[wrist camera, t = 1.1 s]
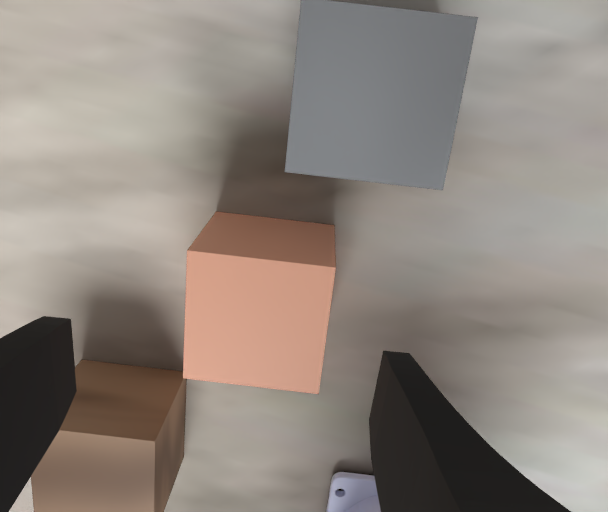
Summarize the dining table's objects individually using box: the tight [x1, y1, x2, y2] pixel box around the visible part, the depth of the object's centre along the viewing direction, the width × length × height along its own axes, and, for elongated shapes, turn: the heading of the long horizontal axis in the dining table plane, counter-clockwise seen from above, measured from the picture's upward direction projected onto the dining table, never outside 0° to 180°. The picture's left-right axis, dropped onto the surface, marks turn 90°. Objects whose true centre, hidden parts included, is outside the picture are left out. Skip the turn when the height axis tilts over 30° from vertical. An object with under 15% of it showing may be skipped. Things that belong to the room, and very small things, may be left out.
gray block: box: [285, 0, 478, 190], centre depth 18 cm, size 5×5×5 cm
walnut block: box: [31, 360, 187, 512], centre depth 24 cm, size 5×5×5 cm
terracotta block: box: [183, 212, 336, 394], centre depth 21 cm, size 5×5×5 cm
